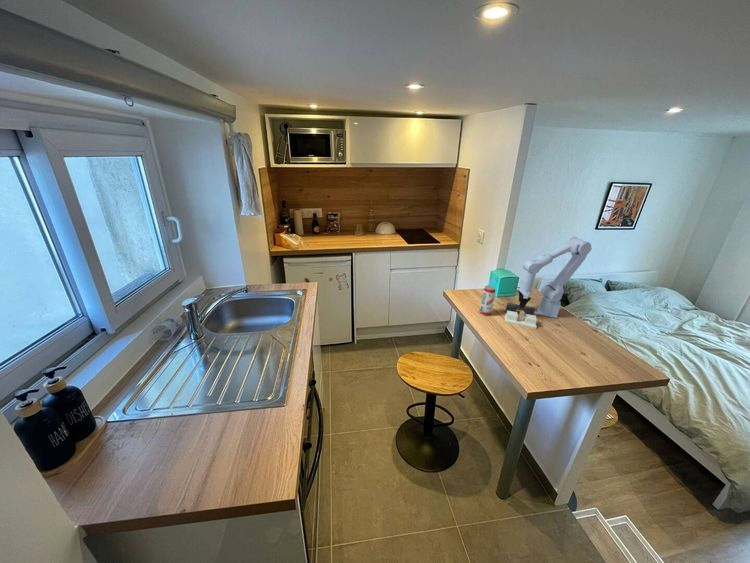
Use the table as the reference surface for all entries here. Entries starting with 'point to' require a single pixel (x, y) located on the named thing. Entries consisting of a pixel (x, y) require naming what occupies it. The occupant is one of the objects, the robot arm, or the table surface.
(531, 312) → the glasses bar
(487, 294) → the beer can
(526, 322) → the display stand
